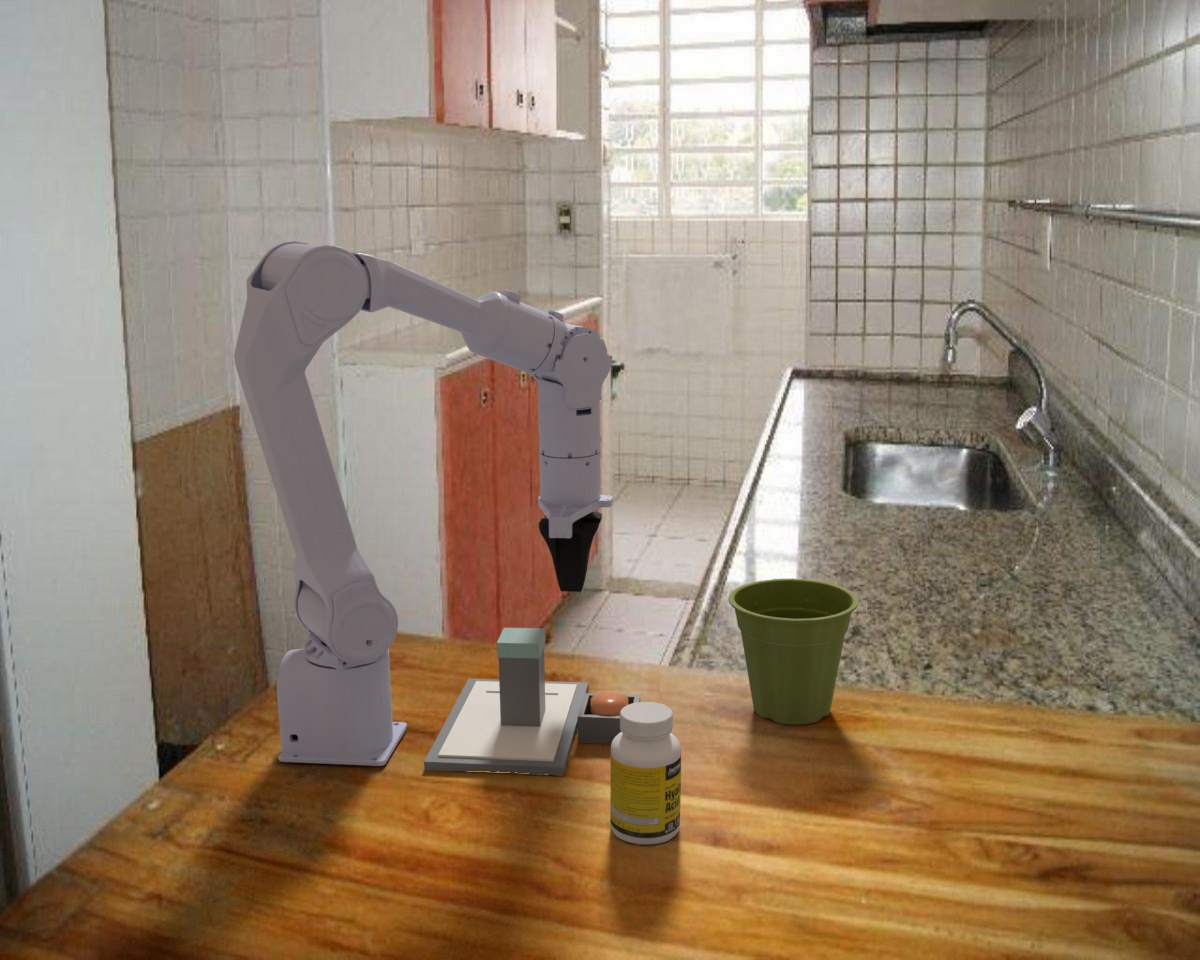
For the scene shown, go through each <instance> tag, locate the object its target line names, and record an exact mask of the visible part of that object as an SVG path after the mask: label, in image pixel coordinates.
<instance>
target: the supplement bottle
mask: <svg viewBox="0 0 1200 960" xmlns="http://www.w3.org/2000/svg"><path fill="white" fill-rule="evenodd" d="M673 715H674V714H673V711H672V709H671V708H670V707H669V706H667V705H665V704H663V703H659V702H654V701H640V702H637V703H632V704H629V705H627V706H625V707H623V708H622V710H621V712H620V730H621V732H620V733H619V734H618V735H617V736H616V737H615V738H614V739H613V741H612V744H610V745H611V746H610V796H609V797H610V799H609V800H610V810H609V811H610V813H609V814H610V815H609V817H610V828H611V831H612V832H613V834H614V835H615V837H617V838H618V839H620V840H622V841H624V842H626V843H627V842H628V843H630V844H634V845H645V846H647V845H659V844H662V843H666V842H668V841H670V840H672V839H673V838H674V837H675V836H676V835H677V834H678V832H679V831H680V825H681V796H682V795H681V790H682V788H681V787H682V747H681V742H680V741H679V739H678V737H677V736H675V735H674V734H673V733H672V732H673V727H674V725H673V724H674V721H673V720H674V718H673V717H674V716H673Z"/></svg>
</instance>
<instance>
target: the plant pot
mask: <svg viewBox="0 0 1200 960" xmlns="http://www.w3.org/2000/svg"><path fill="white" fill-rule="evenodd" d="M728 602H729V604H730V606H731V607H732V608H734V611H735V617H736V618H735V619H736V623H737V627H738V628H739V630H740V634H741V641H742V645H743V654H744V658H745V659H744V660H745V663H746V664H745V666H746V670H747V676H748V677H747V678H748V681H749V682H748V683H749V688H750V695H751V700H752V705H753V706H752V707H753V710H754V711H755V713H756V714H757V715H758V716H759V717H761V718H763V719H765V718H769V719H771V720H773V721H775V722H776V723H778V724H783V725H788V726H789V725H790V726H794V725H808V724H809V725H810V724H813V723H816V722H819V721H820V720H821V719H822V718H824V717H825V716H826V717H827V716H829V714H830V712H831V709H832V703H833V699H834V694H835V693H834V692H835V687H836V682H837V678H838V673H839V672H838V671H839V667H840V662H841V656H842V651H843V646H844V642H845V641H844V640H845V636H846V633H848V630H849V627H850V626H849V625H850V621H851V616H852V613H853V612H854V611H856V609H858V608H857V607H858V605H859V603H860V602H859V597H858V596H857V595H856V593H854V591H851V590H849V589H848V588H847V587H843V586H842V585H841V586H840V585H837V584H835V583H831V582H827V581H822V580H815V579H808V578H793V577H792V578H772V579H765V580H757V581H753V582H749V583H746V584H742V585H740V586H738V587H736V588H734V589H733V590H732V591H731V592H730V593H729V595H728Z"/></svg>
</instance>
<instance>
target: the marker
mask: <svg viewBox="0 0 1200 960" xmlns="http://www.w3.org/2000/svg"><path fill="white" fill-rule="evenodd" d="M545 644H546V628H538V627H537V628H534V627H503V628H502V631H501V633H500V635H499V637H498V640H497V641H496V654H497V655H496V657H497V658H498V680H499V687H500V718H501V726H532V727H540V726H541V723H542V720H543V716H544V713H545V710H546V708H545V681H546V678H545V677H546V672H545V671H546V670H545V669H546V668H545V667H546V666H545Z"/></svg>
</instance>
